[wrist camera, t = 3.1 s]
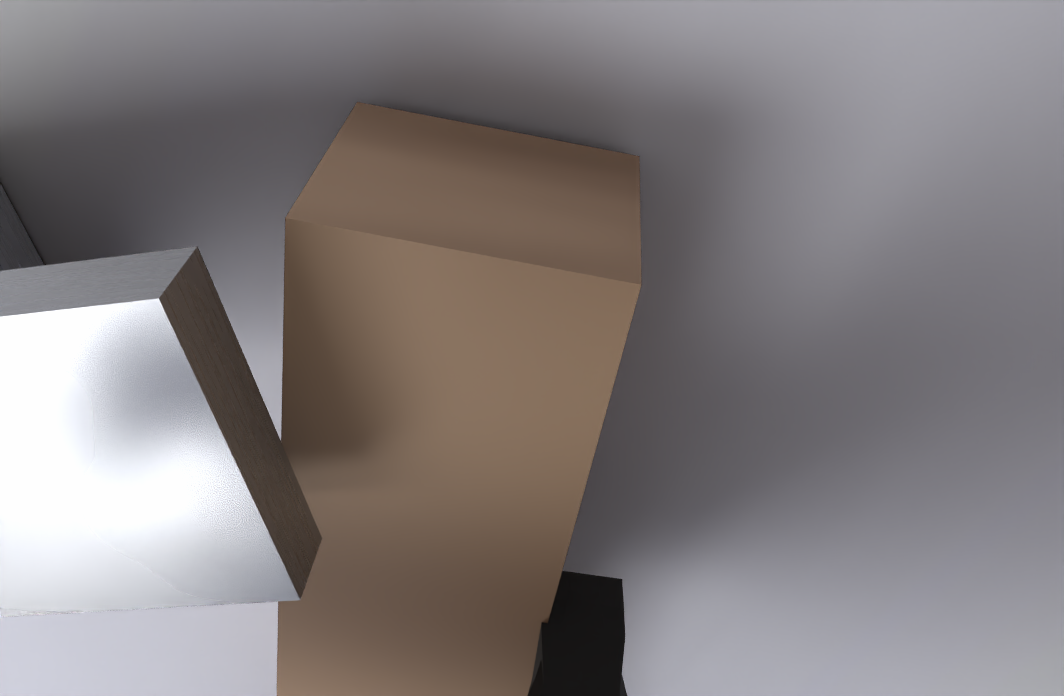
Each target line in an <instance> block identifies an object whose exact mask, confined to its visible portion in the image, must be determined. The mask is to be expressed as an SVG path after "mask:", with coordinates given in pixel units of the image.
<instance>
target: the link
mask: <svg viewBox="0 0 1064 696" xmlns="http://www.w3.org/2000/svg"><path fill="white" fill-rule="evenodd" d="M640 288H641V225H640V163H639V156H636V155H631V154H625V153H620V152H615V151H610V150H605V149H599V148H594V147H589V146H584V145H579V144H573V143H568V142H563V141H558V140H553V139H547V138H542V137H537V136H532V135H527V134H521V133H516V132H511V131H506V130H501V129H495V128H490V127H485V126H480V125H475V124H469V123H464V122H459V121H454V120H449V119H443V118H438V117H433V116H428V115H423V114H417V113H412V112H407V111H402V110H397V109H391V108H386V107H381V106H376V105H371V104H365V103H360V102H357V103H356V105H355V106H354V108H353V109H352V111H351V113H350V114H349V116H348V117H347V119H346V121H345V122H344V124H343V126H342V127H341V129H340V130H339V132H338V134H337V135H336V137H335V138H334V140H333V142H332V143H331V145H330V147H329V148H328V150H327V151H326V153H325V155H324V156H323V158H322V159H321V161H320V163H319V164H318V166H317V167H316V169H315V171H314V172H313V174H312V176H311V177H310V179H309V180H308V182H307V184H306V185H305V187H304V188H303V190H302V192H301V193H300V195H299V197H298V198H297V200H296V201H295V203H294V205H293V206H292V208H291V209H290V211H289V213H288V214H287V216H286V217H285V263H284V319H283V374H282V430H281V443H282V445H283V448H284V450H285V452H286V455H287V457H288V459H289V462H290V464H291V466H292V469H293V471H294V473H295V476H296V478H297V480H298V483H299V485H300V487H301V490H302V492H303V494H304V497H305V499H306V501H307V504H308V506H309V508H310V511H311V513H312V516H313V518H314V520H315V523H316V525H317V527H318V530H319V532H320V534H321V537H322V540H321V543H320V546H319V549H318V552H317V554H316V557H315V560H314V563H313V566H312V569H311V571H310V574H309V577H308V580H307V583H306V586H305V589H304V591H303V594H302V597H301V600H295V601H278V652H277V696H528V692H529V688H530V685H531V681H532V676H533V670H534V664H535V658H536V652H537V646H538V640H539V634H540V628H541V622H544V623H548V620H549V616H550V613H551V609H552V606H553V602H554V598H555V595H556V591H557V588H558V584H559V580H560V577H561V573H562V569H563V566H564V562H565V559H566V555H567V551H568V548H569V544H570V541H571V537H572V533H573V530H574V526H575V523H576V519H577V515H578V512H579V508H580V505H581V501H582V497H583V494H584V490H585V487H586V483H587V479H588V476H589V472H590V469H591V465H592V461H593V458H594V454H595V451H596V447H597V443H598V440H599V436H600V433H601V429H602V425H603V422H604V418H605V414H606V411H607V407H608V404H609V400H610V396H611V393H612V389H613V386H614V382H615V378H616V375H617V371H618V368H619V364H620V360H621V357H622V353H623V350H624V346H625V342H626V339H627V335H628V332H629V328H630V324H631V321H632V317H633V314H634V310H635V306H636V303H637V299H638V296H639V292H640Z"/></svg>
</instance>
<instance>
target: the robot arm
mask: <svg viewBox="0 0 1064 696" xmlns="http://www.w3.org/2000/svg"><path fill="white" fill-rule="evenodd" d="M624 643H625V623H624V602H623V587H622V579H617V578H610V577H602V576H595V575H588V574H580V573H573V572H566V571H562V573H561V577H560V580H559V584H558V588H557V591H556V595H555V598H554V602H553V606H552V609H551V613H550V616H549V620H548V623H544V622H541V628H540V634H539V640H538V646H537V652H536V658H535V664H534V670H533V676H532V681H531V685H530V688H529V692H528V696H627V693H626V689H625V685H624V681H623V677H622V664H623V654H624Z"/></svg>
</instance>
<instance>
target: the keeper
mask: <svg viewBox="0 0 1064 696" xmlns="http://www.w3.org/2000/svg"><path fill="white" fill-rule="evenodd" d="M321 540H322V537H321V534H320V532H319V530H318V527H317V525H316V523H315V520H314V518H313V516H312V513H311V511H310V508H309V506H308V504H307V501H306V499H305V497H304V494H303V492H302V490H301V487H300V485H299V483H298V480H297V478H296V476H295V473H294V471H293V469H292V466H291V464H290V462H289V459H288V457H287V455H286V452H285V450H284V448H283V445H282V443H281V441H280V438H279V436H278V434H277V431H276V429H275V427H274V424H273V422H272V420H271V417H270V415H269V413H268V410H267V408H266V406H265V403H264V401H263V399H262V396H261V394H260V392H259V389H258V387H257V385H256V382H255V380H254V378H253V375H252V373H251V370H250V368H249V366H248V363H247V361H246V359H245V356H244V354H243V352H242V349H241V347H240V345H239V342H238V340H237V338H236V335H235V333H234V331H233V328H232V326H231V324H230V321H229V319H228V317H227V314H226V312H225V310H224V307H223V305H222V303H221V300H220V298H219V296H218V293H217V291H216V289H215V286H214V284H213V282H212V279H211V277H210V275H209V272H208V270H207V268H206V265H205V263H204V261H203V258H202V256H201V254H200V251H199V249H198V247H197V246H195V247H187V248H179V249H171V250H163V251H155V252H147V253H139V254H131V255H123V256H115V257H107V258H99V259H91V260H83V261H75V262H68V263H60V264H52V265H44V264H43V262H42V260H41V258H40V256H39V255H38V253H37V251H36V249H35V247H34V245H33V243H32V242H31V240H30V238H29V236H28V234H27V232H26V230H25V228H24V227H23V225H22V223H21V221H20V219H19V217H18V215H17V214H16V212H15V210H14V208H13V206H12V204H11V202H10V201H9V199H8V197H7V195H6V193H5V191H4V189H3V187H2V186H1V184H0V617H11V616H29V615H46V614H64V613H82V612H100V611H117V610H135V609H153V608H171V607H188V606H206V605H224V604H242V603H260V602H277V601H295V600H301V597H302V594H303V591H304V589H305V586H306V583H307V580H308V577H309V574H310V571H311V569H312V566H313V563H314V560H315V557H316V554H317V552H318V549H319V546H320V543H321Z"/></svg>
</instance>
